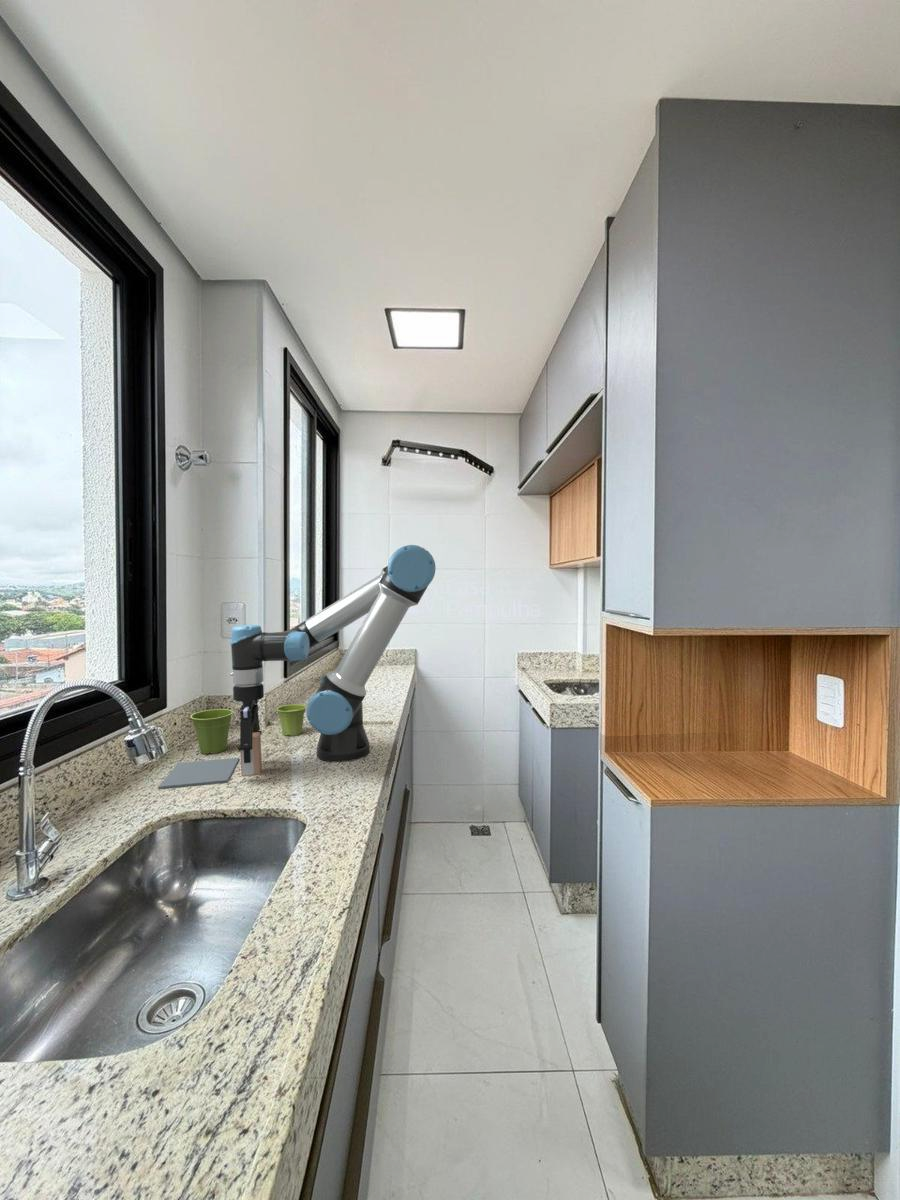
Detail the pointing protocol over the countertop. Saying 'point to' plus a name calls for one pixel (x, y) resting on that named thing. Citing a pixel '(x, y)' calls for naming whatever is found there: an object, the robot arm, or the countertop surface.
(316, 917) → the countertop surface
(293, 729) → the plant pot
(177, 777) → the mat
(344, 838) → the countertop surface
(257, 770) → the block
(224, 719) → the plant pot
